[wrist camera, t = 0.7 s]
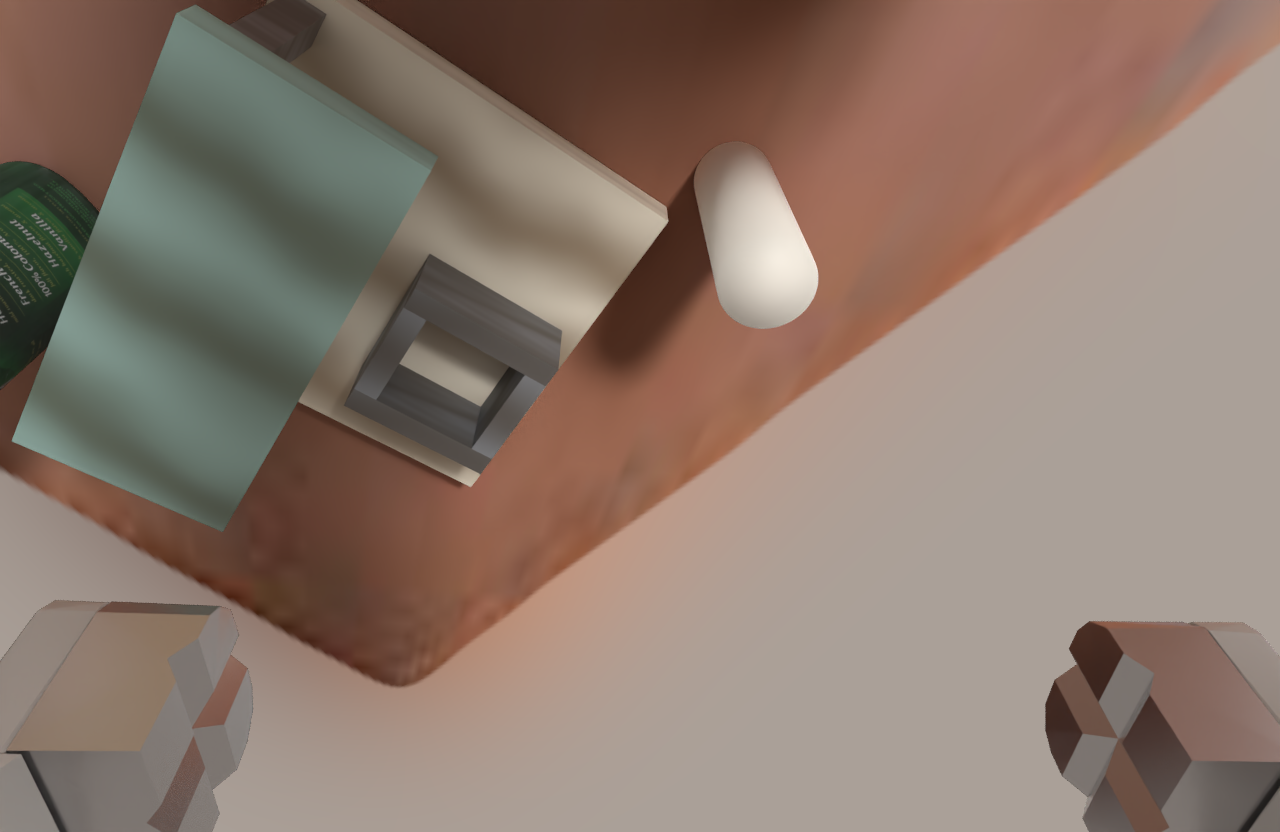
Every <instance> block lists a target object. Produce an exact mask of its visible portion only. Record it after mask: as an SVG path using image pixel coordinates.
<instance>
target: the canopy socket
mask: <svg viewBox="0 0 1280 832" xmlns="http://www.w3.org/2000/svg"><path fill="white" fill-rule="evenodd" d="M667 223H668V214H667V207H666V206H664V205H663V204H661V203H660V202H658V201H657V200H655V199H654V198H652V197H651V196H649V195H648V194H646V193H645V192H643V191H642V190H640V189H639V188H637V187H636V186H634V185H633V184H631V183H630V182H628V181H627V180H625V179H624V178H622V177H621V176H619V175H618V174H616V173H615V172H613V171H612V170H610V169H609V168H607V167H606V166H604V165H603V164H601V163H600V162H598V161H597V160H595V159H594V158H593V157H591V156H590V155H588V154H587V153H585V152H584V151H582V150H581V149H579V148H578V147H576V146H575V145H573V144H572V143H570V142H569V141H567V140H566V139H564V138H563V137H561V136H560V135H558V134H557V133H555V132H554V131H552V130H551V129H549V128H548V127H546V126H545V125H543V124H542V123H540V122H539V121H537V120H536V119H534V118H533V117H531V116H530V115H528V114H527V113H525V112H524V111H522V110H521V109H519V108H518V107H516V106H515V105H513V104H512V103H510V102H509V101H507V100H506V99H504V98H503V97H501V96H500V95H498V94H497V93H495V92H494V91H492V90H491V89H489V88H488V87H486V86H485V85H483V84H482V83H480V82H479V81H477V80H476V79H474V78H473V77H471V76H470V75H468V74H467V73H465V72H464V71H462V70H461V69H459V68H458V67H456V66H455V65H453V64H452V63H450V62H449V61H447V60H446V59H444V58H443V57H441V56H440V55H438V54H437V53H435V52H434V51H432V50H431V49H429V48H428V47H426V46H425V45H423V44H422V43H420V42H419V41H417V40H416V39H414V38H413V37H411V36H410V35H408V34H407V33H405V32H404V31H402V30H401V29H400V28H398V27H397V26H395V25H394V24H392V23H391V22H389V21H388V20H386V19H385V18H383V17H382V16H380V15H379V14H377V13H376V12H374V11H373V10H371V9H370V8H368V7H367V6H365V5H364V4H362V3H361V2H359V1H358V0H267V2H266V4H265V6H263V7H261V8H259V9H257V10H256V11H254V12H252V13H250V14H248V15H246V16H244V17H243V18H241V19H239V20H237V21H235V22H233V23H232V24H230V25H228V24H226V23H225V22H223V21H221V20H220V19H218V18H217V17H215V16H213V15H212V14H210V13H209V12H207V11H205V10H204V9H202V8H201V7H199V6H197V5H193V6H191V7H189V8H187V9H184V10H182V11H180V12H178V13H176V15H175V18H174V20H173V23H172V26H171V28H170V31H169V33H168V36H167V39H166V41H165V44H164V46H163V49H162V52H161V54H160V57H159V59H158V62H157V65H156V67H155V70H154V72H153V75H152V78H151V80H150V83H149V85H148V88H147V91H146V93H145V96H144V98H143V101H142V104H141V106H140V109H139V111H138V114H137V117H136V119H135V122H134V124H133V127H132V130H131V132H130V135H129V137H128V140H127V143H126V145H125V148H124V150H123V153H122V156H121V158H120V161H119V163H118V166H117V169H116V171H115V174H114V176H113V179H112V181H111V184H110V187H109V189H108V192H107V194H106V197H105V200H104V202H103V205H102V207H101V210H100V213H99V215H98V218H97V220H96V223H95V226H94V228H93V231H92V233H91V236H90V239H89V241H88V244H87V246H86V249H85V252H84V254H83V257H82V259H81V262H80V265H79V267H78V270H77V272H76V275H75V278H74V280H73V283H72V285H71V288H70V291H69V293H68V296H67V298H66V301H65V304H64V306H63V309H62V311H61V314H60V317H59V319H58V322H57V324H56V327H55V330H54V332H53V335H52V337H51V340H50V343H49V345H48V348H47V350H46V353H45V355H44V358H43V361H42V363H41V366H40V368H39V371H38V374H37V376H36V379H35V381H34V384H33V387H32V389H31V392H30V394H29V397H28V400H27V402H26V405H25V407H24V410H23V413H22V415H21V418H20V420H19V423H18V426H17V428H16V431H15V433H14V436H13V439H12V442H15V443H17V444H19V445H22V446H24V447H26V448H29V449H31V450H33V451H36V452H38V453H40V454H42V455H45V456H47V457H49V458H52V459H54V460H56V461H59V462H61V463H63V464H66V465H68V466H70V467H73V468H75V469H77V470H80V471H82V472H84V473H87V474H89V475H91V476H94V477H96V478H98V479H101V480H103V481H105V482H108V483H110V484H112V485H114V486H117V487H119V488H121V489H124V490H126V491H128V492H131V493H133V494H135V495H138V496H140V497H142V498H145V499H147V500H149V501H152V502H154V503H156V504H159V505H161V506H163V507H166V508H168V509H170V510H173V511H175V512H177V513H180V514H182V515H184V516H187V517H189V518H191V519H193V520H196V521H198V522H200V523H203V524H205V525H207V526H210V527H212V528H214V529H217V530H219V531H221V532H223V531H224V529H225V527H226V526H227V524H228V522H229V520H230V519H231V517H232V515H233V514H234V512H235V510H236V508H237V507H238V505H239V503H240V501H241V500H242V498H243V496H244V494H245V493H246V491H247V489H248V488H249V486H250V484H251V482H252V481H253V479H254V477H255V475H256V474H257V472H258V470H259V468H260V467H261V465H262V463H263V462H264V460H265V458H266V456H267V455H268V453H269V451H270V449H271V448H272V446H273V444H274V442H275V441H276V439H277V437H278V435H279V434H280V432H281V430H282V429H283V427H284V425H285V423H286V422H287V420H288V418H289V416H290V415H291V413H292V411H293V409H294V408H295V406H296V404H297V403H298V402H300V403H302V404H304V405H306V406H308V407H310V408H312V409H314V410H316V411H318V412H320V413H322V414H324V415H326V416H328V417H330V418H332V419H334V420H336V421H338V422H340V423H342V424H344V425H346V426H348V427H350V428H352V429H354V430H356V431H358V432H360V433H362V434H364V435H366V436H368V437H370V438H372V439H374V440H376V441H379V442H381V443H383V444H385V445H387V446H389V447H391V448H393V449H395V450H397V451H399V452H401V453H403V454H405V455H407V456H409V457H411V458H413V459H415V460H417V461H419V462H421V463H423V464H425V465H427V466H429V467H431V468H433V469H435V470H437V471H439V472H441V473H443V474H445V475H447V476H449V477H451V478H453V479H455V480H457V481H459V482H461V483H463V484H465V485H467V486H469V487H471V486H472V485H473V484H474V482H475V481H476V480H477V478H478V477H479V476H480V474H481V473H482V472H483V470H484V469H485V468H486V466H487V465H488V464H489V462H490V461H491V459H492V458H493V457H494V455H495V454H496V453H497V451H498V450H499V449H500V447H501V446H502V445H503V443H504V442H505V441H506V439H507V438H508V437H509V435H510V434H511V433H512V431H513V430H514V429H515V427H516V426H517V425H518V423H519V422H520V420H521V419H522V418H523V416H524V415H525V414H526V412H527V411H528V410H529V408H530V407H531V406H532V404H533V403H534V402H535V400H536V399H537V398H538V396H539V395H540V394H541V392H542V391H543V390H544V388H545V387H546V386H547V384H548V383H549V381H550V380H551V379H552V377H553V376H554V375H555V373H556V372H557V371H558V369H559V368H560V367H561V365H562V364H563V363H564V361H565V360H566V359H567V357H568V356H569V355H570V353H571V352H572V351H573V349H574V348H575V347H576V345H577V344H578V343H579V341H580V340H581V338H582V337H583V336H584V334H585V333H586V332H587V330H588V329H589V328H590V326H591V325H592V324H593V322H594V321H595V320H596V318H597V317H598V316H599V314H600V313H601V312H602V310H603V309H604V308H605V306H606V305H607V304H608V302H609V301H610V299H611V298H612V297H613V295H614V294H615V293H616V291H617V290H618V289H619V287H620V286H621V285H622V283H623V282H624V281H625V279H626V278H627V277H628V275H629V274H630V273H631V271H632V270H633V269H634V267H635V266H636V265H637V263H638V262H639V261H640V259H641V258H642V256H643V255H644V254H645V252H646V251H647V250H648V248H649V247H650V246H651V244H652V243H653V242H654V240H655V239H656V238H657V236H658V235H659V234H660V232H661V231H662V230H663V228H664V227H665V226H666V224H667Z"/></svg>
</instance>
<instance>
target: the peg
mask: <svg viewBox="0 0 1280 832" xmlns="http://www.w3.org/2000/svg"><path fill="white" fill-rule="evenodd" d="M694 190H695V195H696V199H697V204H698V208H699V213H700V217H701V222H702V226H703V231H704V235H705V240H706V244H707V249H708V253H709V258H710V262H711V267H712V271H713V276H714V280H715V285H716V289H717V294H718V298H719V301H720V304H721V305H722V307H723V309H724V310H725V312H726V313H727V314H728V315H729V316H730V317H731V318H732V319H734V320H735V321H737V322H738V323H740V324H742V325H745V326H748V327H752V328H759V329H767V328H774V327H778V326H781V325H784V324H786V323H789V322H791V321H792V320H794V319H795V318H797V317H798V316H799V315H801V314H802V313H803V312H804V311H805V310H806V309H807V307H808V306H809V305H810V303H811V301H812V300H813V298H814V296H815V293H816V290H817V286H818V270H817V266H816V263H815V261H814V259H813V257H812V254H811V252H810V250H809V248H808V246H807V243H806V241H805V239H804V237H803V235H802V233H801V230H800V228H799V226H798V224H797V222H796V219H795V217H794V215H793V213H792V211H791V208H790V206H789V204H788V202H787V200H786V198H785V195H784V193H783V191H782V189H781V187H780V184H779V182H778V180H777V178H776V176H775V173H774V171H773V169H772V167H771V165H770V163H769V160H768V159H767V157H766V156H765V155H764V153H763V152H762V151H761V150H759V149H758V148H757V147H755V146H753V145H751V144H748V143H745V142H736V141H733V142H727V143H723V144H720V145H718V146H716V147H714V148H713V149H711V150H710V151H709V152H708V153H706V154H705V155H704V157H703V158H702V159H701V161H700V162H699V164H698V166H697V168H696V171H695V175H694Z"/></svg>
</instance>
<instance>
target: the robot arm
mask: <svg viewBox="0 0 1280 832" xmlns="http://www.w3.org/2000/svg"><path fill="white" fill-rule="evenodd" d="M238 636H239V633H238V630H237V627H236V624H235V621H234V618H233V614H232V611H231V610H230V609H227V608H224V607H221V606H203V605H181V604H157V603H133V602H111V603H109V602H86V601H62V600H55V601H53V602H52V603H50V604H48V605H46V606H45V607H43V608H41V609H40V610H39V611H37V613H35V615H34V616H33V617H32V619H31V620H30V621H29V623H28V624H27V625H26V627H25V628H24V630H23V631H22V632H21V634H20V635H19V636H18V638H17V639H16V640H15V642H14V643H13V644H12V646H11V647H10V648H9V650H8V651H7V653H6V654H5V655H4V657H3V658H2V659H1V661H0V832H212V831H213V829H214V826H215V824H216V821H217V819H218V816H219V810H218V807H217V804H216V801H215V797H214V794H213V791H212V790H213V789H214V788H215V787H216V786H218V785H219V784H220V783H221V782H222V781H223V780H225V779H226V778H227V777H228V776H230V774H232V773H233V772H234V771H235V770H237V768H238V765H239V763H240V760H241V757H242V755H243V752H244V749H245V746H246V744H247V741H248V735H249V730H250V724H251V718H252V713H253V698H252V697H253V696H252V684H251V680H250V676H249V672H248V668H247V667H245V666H244V665H243V664H242V663H240V662H239V661H238V660H237V659H235V658H234V657H233V656H232V655H231V652H232V650H233V647H234V645H235V643H236V641H237V638H238ZM1069 650H1070V652H1071V654H1072V656H1073V658H1074V660H1075V662H1076V663H1077V665H1075V666H1074V667H1072V668H1071V669H1070V670H1068V671H1067V672H1065V673H1064V674H1063V675H1061V676H1060V677H1058V678H1057V679H1055V681H1054V683H1053V686H1052V688H1051V691H1050V693H1049V696H1048V698H1047V701H1046V704H1045V707H1046V708H1045V709H1046V711H1045V712H1046V714H1045V718H1046V719H1045V720H1046V721H1045V722H1046V723H1045V724H1046V725H1045V731H1046V735H1047V738H1048V742H1049V746H1050V750H1051V753H1052V756H1053V758H1054V759H1055V762H1056V764H1057V766H1058V769H1059V771H1060V773H1061V775H1062V776H1063V777H1064V778H1065V779H1066V780H1067V781H1069V782H1070V783H1071V784H1073V785H1074V786H1075V787H1076V788H1077V789H1079V790H1080V791H1081V792H1082V793H1083V794H1085V795H1086V796H1087V802H1086V806H1085V810H1084V814H1083V820H1084V822H1085V824H1086V827H1087V829H1088V831H1089V832H1280V656H1279V655H1278V654H1277V653H1276V652H1275V650H1274V649H1273V648H1272V647H1271V646H1270V644H1269V643H1268V642H1267V641H1266V639H1265V638H1264V637H1263V636H1262V635H1261V634H1260V633H1259V632H1258V631H1256V630H1255V629H1253V628H1251V627H1250V626H1248V625H1247V624H1245V623H1241V622H1240V623H1239V622H1237V623H1236V622H1191V623H1184V622H1130V621H1128V622H1127V621H1126V622H1125V621H1121V622H1120V621H1119V622H1118V621H1089V622H1088V623H1087V624H1085V625H1084V626H1083V627H1081V628H1080V629H1079V630H1078V631H1077V633H1076V635H1075V637H1074V639H1073V641H1072V643H1071V645H1070V647H1069Z"/></svg>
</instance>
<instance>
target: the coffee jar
mask: <svg viewBox="0 0 1280 832" xmlns="http://www.w3.org/2000/svg"><path fill="white" fill-rule="evenodd" d="M98 215H99V212H98V210H97V209H96V208H95V207H94V206H93V205H92V204H91V203H90V202H89V201H88V199H87V198H86V197H85V196H84V195H83V194H82V193H81V192H80V191H79V190H78V189H76V188H75V187H74V186H73V185H72V184H70V183H69V182H68V181H67V180H66V179H64V178H63V177H62V176H60V175H59V174H57V173H55V172H53V171H52V170H49V169H47V168H45V167H43V166H41V165H38V164H34V163H30V162H21V161H15V162H7V163H3V164H0V390H1V389H2V388H3V387H4V386H5V385H6V384H7V383H8V382H10V381H11V380H12V379H13V378H14V377H15V376H16V375H17V374H18V373H19V372H20V371H22V370H23V369H24V368H25V367H26V366H27V365H28V364H29V363H31V362H32V361H33V360H34V359H35V358H36V357H37V356H38V355H39V354H40V353H41V352H42V351H44V350H45V349H46V348H47V347H48V345H49V343H50V340H51V337H52V335H53V332H54V330H55V327H56V324H57V322H58V319H59V317H60V314H61V311H62V309H63V306H64V304H65V301H66V298H67V296H68V293H69V291H70V288H71V285H72V283H73V280H74V278H75V275H76V272H77V270H78V267H79V265H80V262H81V259H82V257H83V254H84V252H85V249H86V246H87V244H88V241H89V239H90V236H91V233H92V231H93V228H94V226H95V223H96V220H97V218H98Z"/></svg>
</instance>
